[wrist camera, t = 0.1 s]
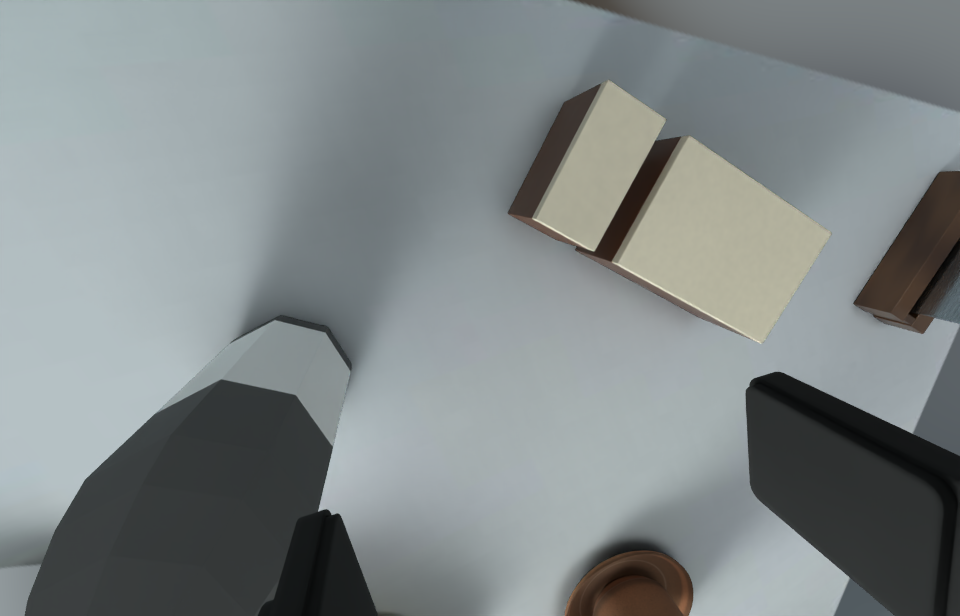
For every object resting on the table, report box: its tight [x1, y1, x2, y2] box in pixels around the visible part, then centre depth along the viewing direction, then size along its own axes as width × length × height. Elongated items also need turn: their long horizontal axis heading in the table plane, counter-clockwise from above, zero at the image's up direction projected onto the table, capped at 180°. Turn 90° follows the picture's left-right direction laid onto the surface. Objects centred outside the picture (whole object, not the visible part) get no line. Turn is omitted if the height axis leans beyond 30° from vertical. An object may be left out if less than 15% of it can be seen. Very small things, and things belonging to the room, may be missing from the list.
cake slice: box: [508, 80, 667, 251], centre depth 27 cm, size 8×4×6 cm, turn 152°
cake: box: [575, 135, 832, 343], centre depth 30 cm, size 8×12×6 cm, turn 62°
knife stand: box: [854, 171, 960, 334], centre depth 36 cm, size 12×4×3 cm, turn 152°
